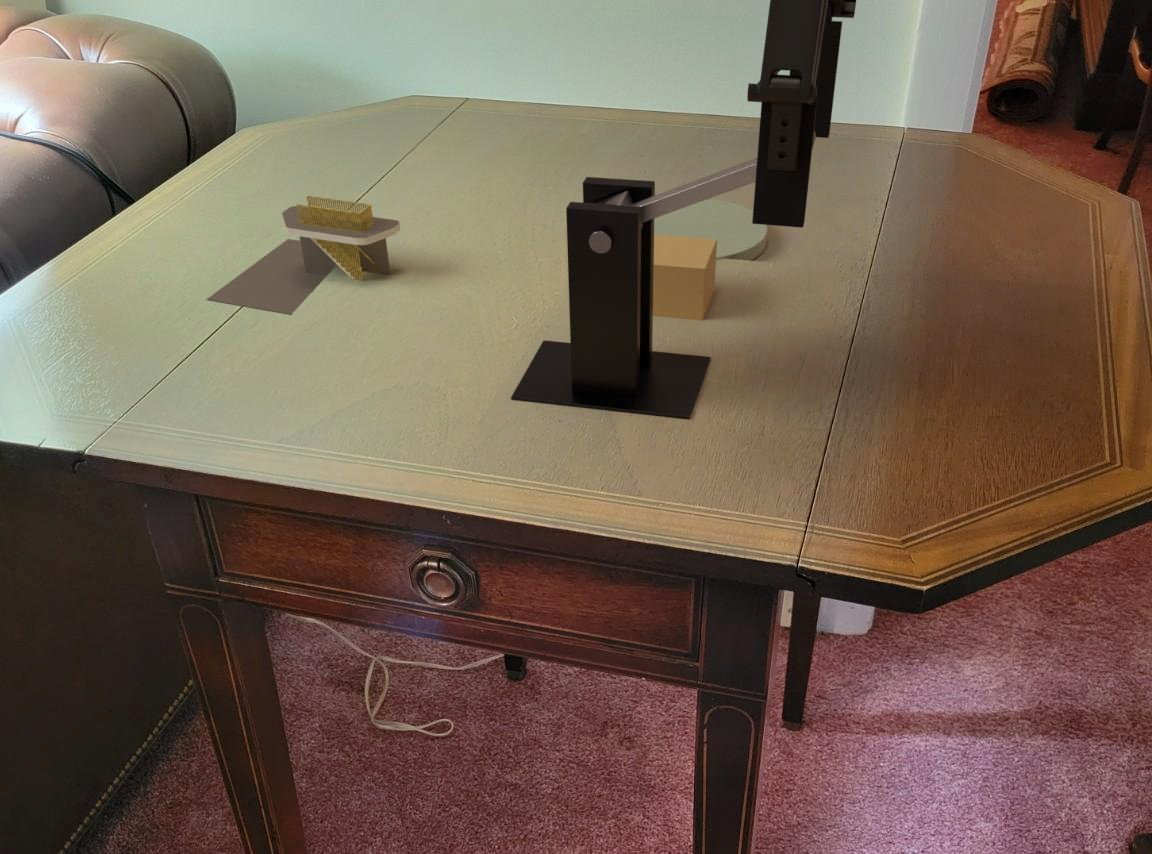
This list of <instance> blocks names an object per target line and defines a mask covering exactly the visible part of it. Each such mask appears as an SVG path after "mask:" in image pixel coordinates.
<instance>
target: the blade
mask: <svg viewBox="0 0 1152 854" xmlns="http://www.w3.org/2000/svg"><path fill="white" fill-rule="evenodd" d="M816 138H817V137H816V133H815V131H814V137H813V146H812V150H814V145H815V142H816V140H817V139H816ZM756 168H757V157H755V158H753V159H749V160H746V161H743V162H742V163H739V164H736V165H734V166H730V167H728V168H725V169H723V170H719V171H717V172H714V173H711V174H709V175H706V176H704V177H701V178H698V179H696V180H693V181H690V182H687V183H685V184H682V185H680V186H679V185H678V186H677V187H673V188H671V189H668V190H666V191H663V192H660V193H658V194H655V196H652V197H649V198H647V199H644V200H641V201H639V202H636V203H633V202H632V199H631V197H630V195H629V192H628V191H626V192H623V193H620V194H618V195H615V196H612V197H610V198H607V199H604V200H602V201H599V202H596V203H595V204H609V205H623V206H637V207H641V228H642V226H643V225H642V223H643V222H646V221H648V220H651V219H654V218H657V217H659V216H662V215H665V214H668V213H670V212H673V211H676V210H679V209H681V208H684V207H687V206H690V205H693V204H695V203H698V202H701V201H704V200H706V199H712V198H715V197H717V196H720V195H723V194H726V193H729V192H731V191H734V190H737V189H739V188H742V187H744V186H745V187H746V186H748V185H750V184H754V183H755V181H756Z"/></svg>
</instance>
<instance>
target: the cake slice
mask: <svg viewBox="0 0 1152 854" xmlns="http://www.w3.org/2000/svg"><path fill="white" fill-rule="evenodd" d="M716 251H717V240H716V239H704V238H691V237H678V236H665V235H654V270H653V317H663V318H673V319H684V320H694V321H695V320H696V321H704V319H705V317H706V313H707V311H708V308H709V306H710V302H711V300H712V298H713V295H714V292H715V287H716V270H717V269H716V267H717V260H716Z"/></svg>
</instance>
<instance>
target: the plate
mask: <svg viewBox="0 0 1152 854" xmlns="http://www.w3.org/2000/svg"><path fill="white" fill-rule="evenodd" d="M752 219H753V209H750V208H749V207H746V206H743V205H741V204H738V203H735V202H730V201H725V200H720V199H712V198H709V199H706V200H704V201H701V202H698V203H695V204H693V205H690V206H687V207H684V208H681V209H679V210H676V211H673V212H670V213H668V214H665V215H662V216H659V217H657V218H654V235H665V236H678V237H691V238H704V239H716V240H717V251H716V261H717V260H722V259H723V260H724V259H725V260H737V261H749V262H752V261H753V260H756V258H758V257H759V256H760V255H761V254H762V253H763V252H764V251H765V249H766V247H767V243H768V242H767V241H768V230H769V229H768V225H763V224H752Z"/></svg>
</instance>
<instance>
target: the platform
mask: <svg viewBox="0 0 1152 854" xmlns="http://www.w3.org/2000/svg"><path fill="white" fill-rule="evenodd" d="M305 198H306V200H307V204H301V203H296V205H293V206H290V207H288V208H287V209H285V210H283V211H282V212H281V215H282V220H283V224H284V227H285V230H286V231H285V232H286V234H288V235H289V236H294V237H295V236H296V237H299V239H292V238H288V239H286V240H285V241H282V243H280V244H279V245H278V246H276V247H275V248H274V249H272V250H271V251H270V252H269V253H267V254H265V255H264V256H263V257H261V258H260V259H259V260H257V261H256V262H255V263H253V264H252V265H251V266H249V267H248V268H247V269H246V270H244V271H242V273H240V274H238V275H237V276H236V277H235V278H233V279H232V280H230V281H229V282H227V283H226V284H225V285H223V286H222V287H221V288H220V289H218V290H217V291H216V292H214V293H213V294H212V295H210V296H209V297H207V298H206V300H207V301H214V302H219V303H224V304H230V305H236V306H241V307H246V308H253V309H258V310H265V311H268V312H269V311H270V312H276V313H282V314H287V315H293V314H294V313H295V311H297V310H298V308H299V307H301V305H302V304H303V303H304V302H305V301H306V300H307V299H308V297H309V296H310V295H311V294H312V293H313V292H314V291H315V290H316V289H317V287H318V286H319V285H320V284H322V282H323V281H324V280H325V279H326V278H327V277H328V276H329V274H331V272H332V271H333V270H334V269H335V268H337V267H338V268H340V269H341V270H342V271H343V272H344V273H345V274H346V275H347V277H349V278H353V280H355V281H362V282H363V281H364V278H363V277H364V276H365V275H367V273H368V272H369V273H375V274H381V275H382V274H383V275H388V276H390V275H391V269H390V268H391V266H390V260H389V252H388V244H387V238H390V237H392V236H395V235H396V234H397V233H398V232H400V231H401V224H400V221H399V220H396V219H391V218H384V217H378V216H377V217H375V216H373V210H372V209H373V208H372V206H373V204H372V203H366V202H365V203H364V202H359V201H351V200H343V199H336V198H330V197H321V196H315V195H306V196H305Z"/></svg>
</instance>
